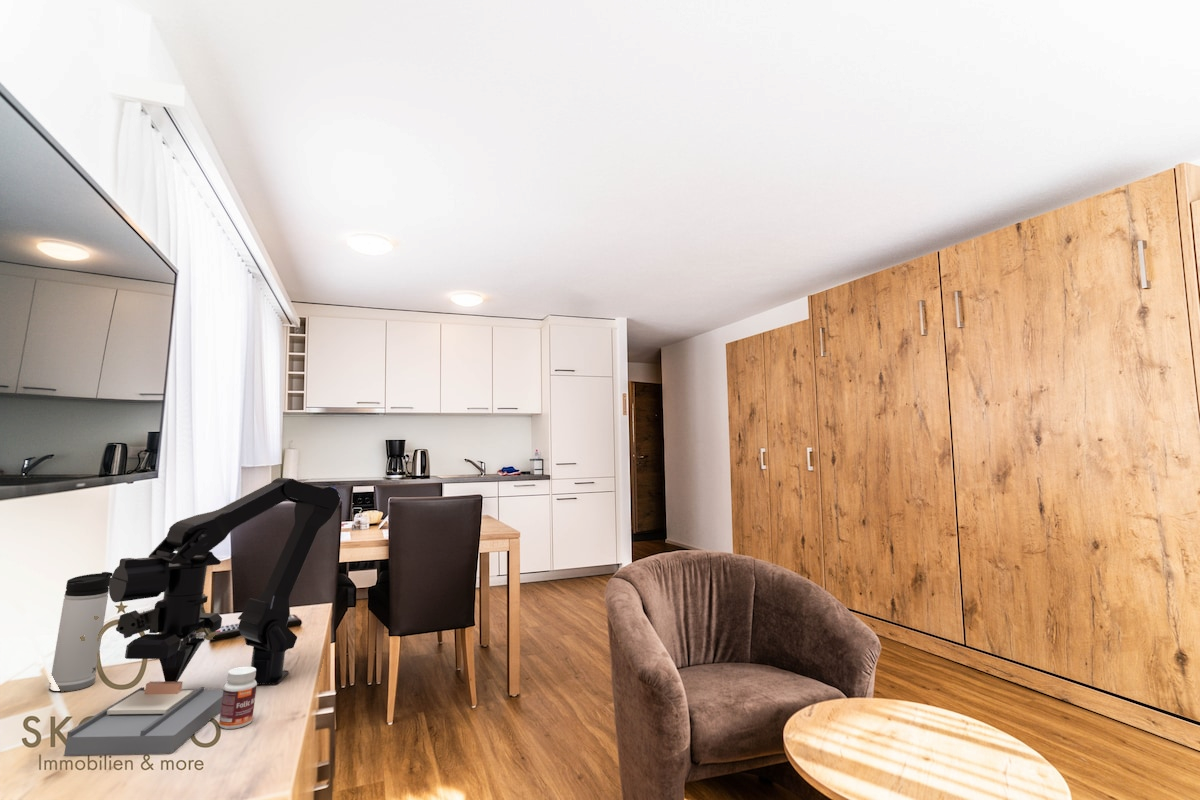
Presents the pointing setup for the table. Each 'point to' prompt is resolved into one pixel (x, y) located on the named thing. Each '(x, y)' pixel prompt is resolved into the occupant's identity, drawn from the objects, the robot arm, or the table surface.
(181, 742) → the board
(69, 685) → the travel mug
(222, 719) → the pill bottle
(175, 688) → the cover
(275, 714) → the table surface
